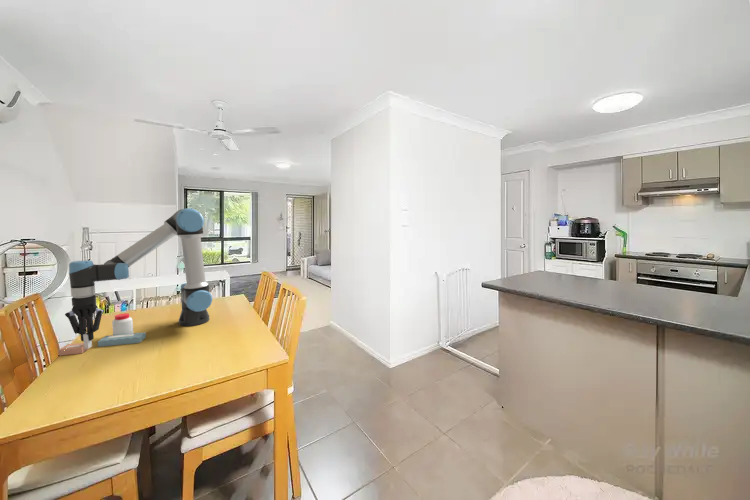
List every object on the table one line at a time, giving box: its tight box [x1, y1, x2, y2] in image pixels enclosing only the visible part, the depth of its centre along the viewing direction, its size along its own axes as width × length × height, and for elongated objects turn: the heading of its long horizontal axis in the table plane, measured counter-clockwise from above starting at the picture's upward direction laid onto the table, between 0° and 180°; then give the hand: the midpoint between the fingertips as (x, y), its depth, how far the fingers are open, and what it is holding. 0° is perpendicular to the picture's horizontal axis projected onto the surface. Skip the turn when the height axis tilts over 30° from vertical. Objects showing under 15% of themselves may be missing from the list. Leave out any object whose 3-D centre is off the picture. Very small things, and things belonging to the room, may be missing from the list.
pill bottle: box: [111, 312, 134, 335], centre depth 147 cm, size 8×8×11 cm
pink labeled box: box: [57, 342, 90, 356], centre depth 129 cm, size 8×6×3 cm
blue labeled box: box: [97, 331, 147, 348], centre depth 140 cm, size 16×7×3 cm, turn 109°
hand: (88, 347), depth 131 cm, fingers closed
